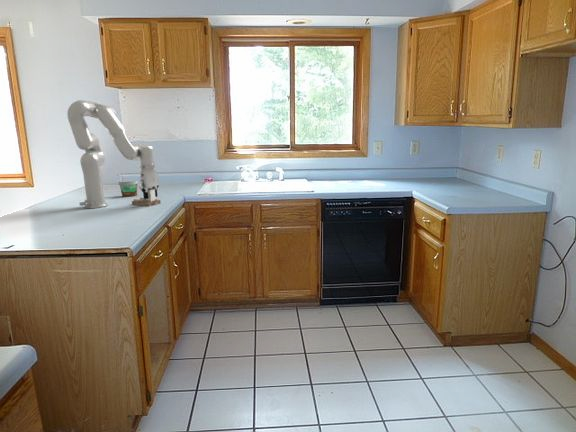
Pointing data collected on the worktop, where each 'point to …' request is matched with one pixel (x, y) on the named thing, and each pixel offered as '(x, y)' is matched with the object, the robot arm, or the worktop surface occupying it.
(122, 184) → the food container
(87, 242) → the worktop surface
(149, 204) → the rail board
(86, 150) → the robot arm
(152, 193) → the slider tab
